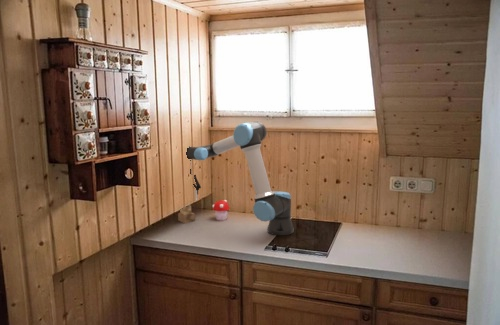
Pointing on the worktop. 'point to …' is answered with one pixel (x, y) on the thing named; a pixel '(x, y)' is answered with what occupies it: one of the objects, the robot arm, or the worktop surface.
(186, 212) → the tower top
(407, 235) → the worktop surface
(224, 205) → the mushroom
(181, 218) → the tower base
